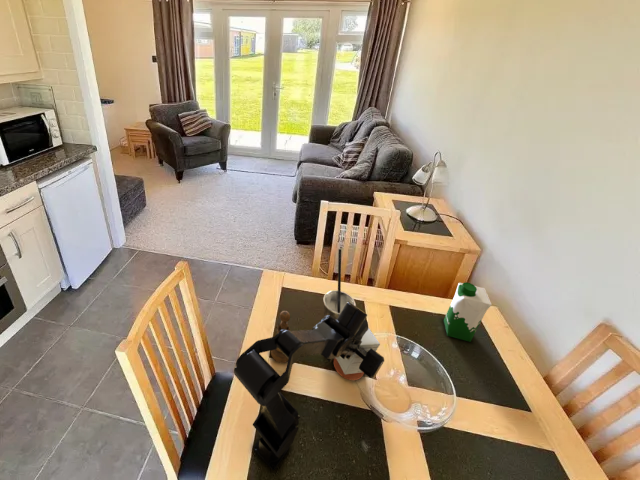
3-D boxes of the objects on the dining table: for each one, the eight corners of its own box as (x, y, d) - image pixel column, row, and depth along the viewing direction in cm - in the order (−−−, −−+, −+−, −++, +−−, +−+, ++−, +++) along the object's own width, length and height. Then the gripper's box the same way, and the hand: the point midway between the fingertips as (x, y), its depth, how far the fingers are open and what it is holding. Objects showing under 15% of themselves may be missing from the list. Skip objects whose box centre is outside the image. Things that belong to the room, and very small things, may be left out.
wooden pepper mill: (290, 364, 97) (295, 324, 89) (269, 360, 98) (272, 319, 90) (292, 346, 103) (297, 306, 94) (272, 342, 104) (276, 302, 95)
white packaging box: (332, 353, 99) (346, 323, 94) (351, 351, 101) (366, 323, 96) (344, 375, 92) (360, 345, 87) (364, 373, 95) (381, 343, 90)
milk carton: (440, 317, 115) (458, 275, 106) (468, 324, 113) (489, 282, 103) (444, 337, 108) (464, 294, 98) (474, 345, 105) (498, 302, 96)
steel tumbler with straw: (326, 314, 115) (339, 247, 101) (354, 333, 108) (372, 265, 94) (308, 331, 108) (319, 262, 94) (337, 353, 101) (353, 282, 87)
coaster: (355, 386, 91) (356, 386, 91) (328, 366, 97) (328, 365, 97) (369, 365, 98) (369, 364, 97) (342, 346, 103) (342, 346, 103)
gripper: (389, 340, 77) (400, 344, 89) (327, 295, 90) (344, 304, 101) (365, 380, 76) (379, 378, 88) (306, 329, 89) (326, 334, 100)
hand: (356, 346), depth 94 cm, fingers open, 9 cm apart
